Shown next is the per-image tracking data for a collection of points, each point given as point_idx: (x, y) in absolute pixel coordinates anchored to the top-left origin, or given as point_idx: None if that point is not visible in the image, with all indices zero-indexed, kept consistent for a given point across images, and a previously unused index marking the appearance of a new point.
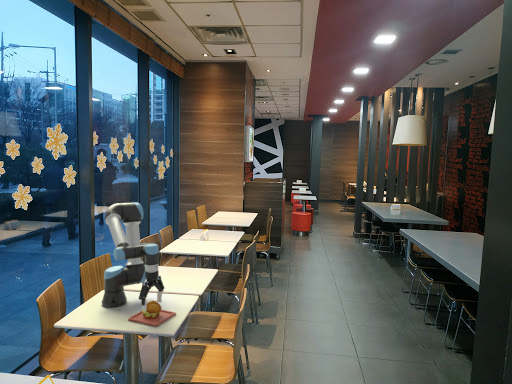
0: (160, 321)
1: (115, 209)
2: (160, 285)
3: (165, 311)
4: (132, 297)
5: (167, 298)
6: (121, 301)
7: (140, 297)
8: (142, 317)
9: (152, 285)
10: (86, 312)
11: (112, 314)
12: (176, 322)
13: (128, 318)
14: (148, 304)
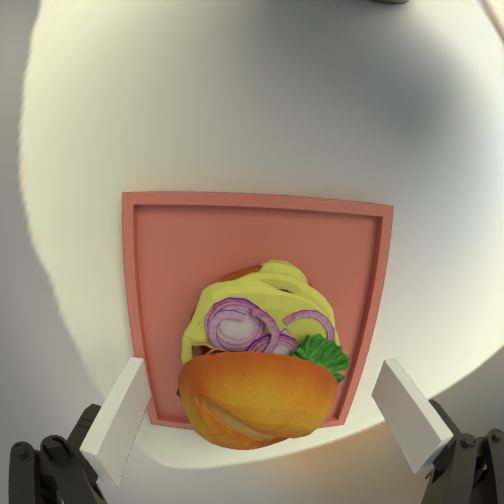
0: (192, 427)
1: None
2: (478, 495)
3: (353, 369)
4: (454, 18)
5: None
6: None
7: (27, 474)
8: (203, 279)
9: None
10: None
11: (192, 12)
12: (250, 456)
13: (123, 195)
14: (216, 400)
